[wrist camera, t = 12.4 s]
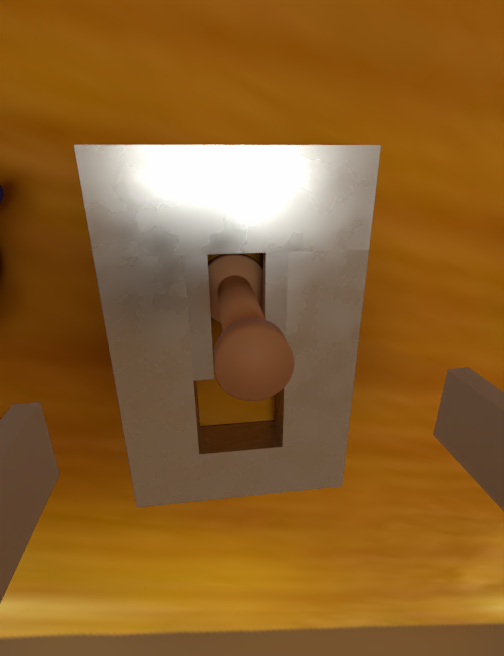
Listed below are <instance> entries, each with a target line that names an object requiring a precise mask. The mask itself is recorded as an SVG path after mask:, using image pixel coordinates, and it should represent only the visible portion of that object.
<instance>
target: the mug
mask: <svg viewBox="0 0 504 656" xmlns="http://www.w3.org/2000/svg"><path fill="white" fill-rule="evenodd" d="M2 198H3V188H2V187H1V185H0V202H1V200H2Z"/></svg>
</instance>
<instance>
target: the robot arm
mask: <svg viewBox="0 0 504 656" xmlns="http://www.w3.org/2000/svg"><path fill="white" fill-rule="evenodd" d="M433 435H434V436H435V437H436V438H437V439H438V440H439V441H440V442H441V443H442V445H443V446H444V447H445V448H446V449H447V450H448V451H449V452H450V453H451V454H452V455H453V457H454V458H455V459H456V460H457V461H458V462H459V463H460V464H461V465H462V466H463V467H464V468H465V470H466V471H467V472H468V473H469V474H470V475H471V476H472V477H473V478H474V479H475V480H476V482H477V483H478V484H479V485H480V486H481V487H482V488H483V489H484V490H485V491H486V492H487V493H488V495H489V496H490V497H491V498H492V499H493V500H494V501H495V502H496V503H497V504H498V505H499V507H500V508H501V509H502V510H503V511H504V392H503V391H501V390H500V389H498V388H497V387H496V386H494V385H493V384H491V383H490V382H488V381H487V380H486V379H484V378H483V377H481V376H480V375H478V374H477V373H476V372H474V371H473V370H471V369H470V368H455V369H448V371H447V375H446V380H445V384H444V389H443V393H442V398H441V402H440V407H439V411H438V416H437V420H436V425H435V429H434V433H433ZM59 474H60V473H59V470H58V466H57V462H56V458H55V455H54V451H53V447H52V444H51V440H50V436H49V432H48V429H47V425H46V421H45V418H44V414H43V410H42V407H41V403H40V402H35V403H23V404H12V406H11V407H10V408H9V409H8V411H7V412H6V413H5V414H4V416H3V417H2V418H1V419H0V603H1V601H2V598H3V596H4V594H5V592H6V590H7V587H8V585H9V583H10V581H11V579H12V577H13V574H14V572H15V570H16V568H17V566H18V563H19V561H20V559H21V557H22V555H23V553H24V550H25V548H26V546H27V544H28V542H29V539H30V537H31V535H32V533H33V531H34V529H35V526H36V524H37V522H38V520H39V518H40V515H41V513H42V511H43V509H44V507H45V505H46V502H47V500H48V498H49V496H50V494H51V491H52V489H53V487H54V485H55V483H56V481H57V478H58V476H59Z"/></svg>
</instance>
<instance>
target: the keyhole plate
mask: <svg viewBox="0 0 504 656" xmlns="http://www.w3.org/2000/svg"><path fill="white" fill-rule="evenodd" d="M380 148H381V145H74V149H75V154H76V160H77V166H78V172H79V178H80V183H81V189H82V195H83V201H84V206H85V212H86V218H87V224H88V229H89V235H90V241H91V247H92V253H93V258H94V264H95V270H96V276H97V281H98V287H99V293H100V299H101V304H102V310H103V316H104V322H105V328H106V333H107V339H108V345H109V351H110V356H111V362H112V368H113V374H114V379H115V385H116V391H117V397H118V403H119V408H120V414H121V420H122V426H123V431H124V437H125V443H126V449H127V455H128V460H129V466H130V472H131V478H132V483H133V489H134V495H135V501H136V506H137V507H145V506H154V505H164V504H174V503H184V502H193V501H203V500H213V499H223V498H232V497H242V496H252V495H262V494H271V493H281V492H291V491H301V490H310V489H320V488H330V487H340V486H342V482H343V474H344V465H345V456H346V447H347V438H348V430H349V421H350V412H351V403H352V394H353V386H354V377H355V368H356V359H357V350H358V342H359V333H360V324H361V315H362V306H363V298H364V289H365V280H366V271H367V262H368V254H369V245H370V236H371V227H372V218H373V210H374V201H375V192H376V183H377V174H378V166H379V157H380ZM239 253H263V315H264V317H265V319H266V320H267V321H270V322H272V323H273V324H275V325H276V326H277V327H278V328H279V329H280V330H281V331H282V333H283V334H284V336H285V338H286V340H287V342H288V344H289V346H290V348H291V350H292V352H293V355H294V371H293V374H292V377H291V379H290V380H289V382H288V383H287V385H286V386H285V387H284V388H283V389H282V390H281V391H280V392H278V393H277V394H275V421H263V422H250V423H238V424H226V425H213V426H201V427H200V425H199V412H198V398H197V385H196V380H209V379H214V366H213V348H212V329H211V311H210V292H209V274H208V255H207V254H239Z"/></svg>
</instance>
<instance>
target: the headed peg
mask: <svg viewBox="0 0 504 656" xmlns="http://www.w3.org/2000/svg"><path fill="white" fill-rule="evenodd" d="M208 274H209V292H210V311H211V317H212V318H213V319H214V320H216V321H218V322H220V323H221V325H222V332H221V334H220V335H219V337H218V339H217V341H216V343H215V347H214V364H215V374H216V378H217V380H218V383H219V384H220V386H221V387H222V388H223V389H224V390H225V391H226V392H227V393H228V394H230V395H231V396H233V397H235V398H238V399H241V400H245V401H258V400H263V399H267V398H269V397H272V396H274V395H275V394H277V393H278V392H280V391H281V390H282V389H283V388H284V387H285V386H286V385H287V383H288V382H289V380H290V379H291V377H292V374H293V371H294V355H293V352H292V350H291V348H290V346H289V344H288V342H287V340H286V338H285V336H284V334H283V333H282V331H281V330H280V329H279V328H278V327H277V326H276V325H275V324H273V323H272V322H270V321H267V320H266V319H265V317H264V315H263V313H262V311H263V268H262V267H261V266H260V264H259V263H258V262H257V261H256V260H255V259H253V258H252V257H250V256H248V255H246V254H242V253H239V254H221V255H219V256H217V257H215V258H214V259H212V260H211V261H210V262H209V263H208Z"/></svg>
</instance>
